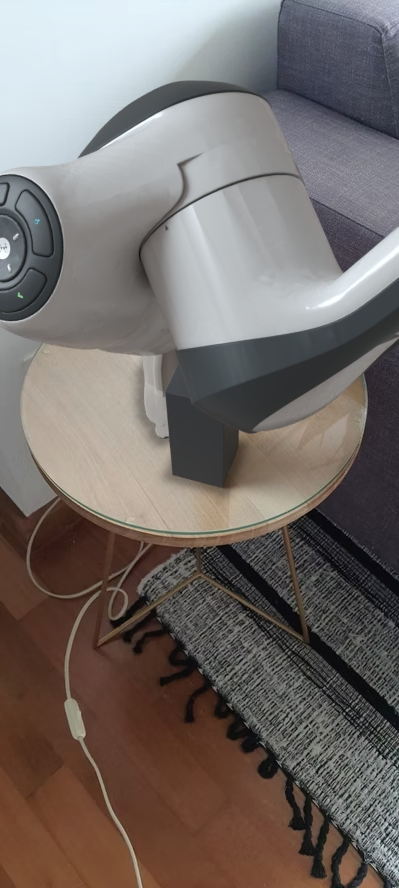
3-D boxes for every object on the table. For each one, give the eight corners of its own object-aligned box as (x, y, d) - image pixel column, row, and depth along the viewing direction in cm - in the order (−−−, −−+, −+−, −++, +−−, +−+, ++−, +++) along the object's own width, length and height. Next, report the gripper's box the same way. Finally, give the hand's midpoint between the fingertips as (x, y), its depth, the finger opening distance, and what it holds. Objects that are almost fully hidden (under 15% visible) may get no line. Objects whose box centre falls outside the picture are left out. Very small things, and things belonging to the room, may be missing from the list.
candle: (143, 439, 81) (125, 308, 65) (144, 355, 89) (128, 221, 73) (204, 436, 81) (201, 305, 65) (200, 352, 89) (196, 218, 73)
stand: (238, 447, 80) (241, 362, 69) (223, 488, 76) (224, 406, 65) (189, 435, 81) (185, 349, 70) (172, 475, 77) (164, 391, 66)
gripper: (292, 289, 44) (326, 312, 57) (31, 210, 50) (115, 247, 63) (261, 382, 46) (301, 384, 59) (9, 295, 51) (96, 314, 64)
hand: (203, 312), depth 61 cm, fingers open, 8 cm apart
